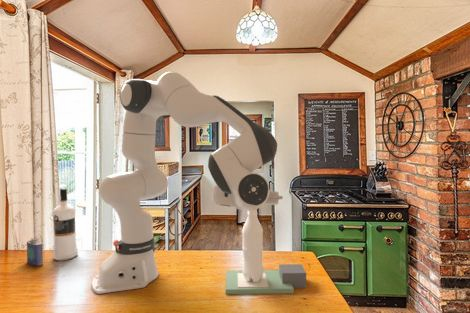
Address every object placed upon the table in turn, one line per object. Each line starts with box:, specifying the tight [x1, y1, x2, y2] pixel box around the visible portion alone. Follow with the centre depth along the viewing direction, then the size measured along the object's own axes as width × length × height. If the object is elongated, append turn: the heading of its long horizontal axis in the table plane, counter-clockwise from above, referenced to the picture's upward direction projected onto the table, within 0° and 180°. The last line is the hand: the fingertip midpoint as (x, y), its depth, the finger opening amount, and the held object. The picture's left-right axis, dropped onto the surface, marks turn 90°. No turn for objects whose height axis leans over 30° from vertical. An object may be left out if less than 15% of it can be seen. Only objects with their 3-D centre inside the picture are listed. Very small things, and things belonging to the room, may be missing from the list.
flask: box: [26, 237, 44, 267], centre depth 119 cm, size 9×3×11 cm, turn 61°
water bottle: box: [241, 209, 264, 282], centre depth 99 cm, size 7×7×25 cm
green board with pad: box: [225, 263, 307, 295], centre depth 100 cm, size 27×14×5 cm, turn 90°
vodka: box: [52, 188, 79, 261], centre depth 125 cm, size 9×9×30 cm
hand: (243, 198), depth 94 cm, fingers open, 8 cm apart
